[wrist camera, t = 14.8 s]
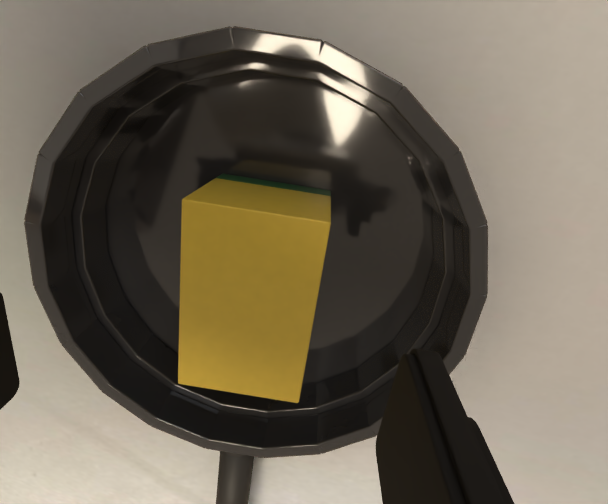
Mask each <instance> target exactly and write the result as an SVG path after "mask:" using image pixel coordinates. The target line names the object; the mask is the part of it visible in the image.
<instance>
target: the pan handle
mask: <svg viewBox="0 0 608 504" xmlns="http://www.w3.org/2000/svg"><path fill="white" fill-rule="evenodd" d="M253 461H254V456H248V455H242V454H236V453H230V452H224V451H220V462H219V474H218V486H217V498H216V504H248V499H249V491H250V484H251V476H252V469H253Z"/></svg>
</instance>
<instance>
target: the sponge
mask: <svg viewBox="0 0 608 504" xmlns="http://www.w3.org/2000/svg"><path fill="white" fill-rule="evenodd" d="M330 225H331V191H330V190H324V189H318V188H311V187H305V186H299V185H292V184H286V183H280V182H273V181H267V180H260V179H254V178H248V177H241V176H235V175H229V174H221V175H220V176H218V177H216V178H215V179H213V180H212V181H210V182H209V183H207V184H205V185H204V186H202V187H201V188H199V189H197V190H196V191H194V192H193V193H191V194H189V195H188V196H186V197H185V198H183V199H182V216H181V263H180V309H179V355H178V384H183V385H189V386H195V387H201V388H207V389H213V390H220V391H226V392H232V393H238V394H244V395H250V396H257V397H263V398H269V399H275V400H281V401H287V402H294V403H298V402H299V399H300V393H301V388H302V382H303V377H304V371H305V365H306V360H307V354H308V349H309V343H310V337H311V332H312V326H313V321H314V315H315V309H316V304H317V298H318V293H319V287H320V281H321V276H322V270H323V265H324V259H325V253H326V248H327V242H328V237H329V231H330Z"/></svg>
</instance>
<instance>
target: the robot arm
mask: <svg viewBox="0 0 608 504" xmlns="http://www.w3.org/2000/svg"><path fill="white" fill-rule="evenodd" d="M18 388H19V377H18V371H17V366H16V361H15V356H14V351H13V346H12V341H11V336H10V330H9V325H8V320H7V315H6V310H5V305H4V300H3V296H2V294H1V293H0V409H1V408H2V407H3V406H5V405H6V404H7V403H8V402H9V401H10V400H11V399H12V398H13V397H14V395H15V394H16V392H17V390H18ZM376 457H377V464H378V471H379V478H380V486H381V493H382V500H383V504H514V502H513V500H512V498H511V496H510V494H509V491H508V489H507V487H506V485H505V483H504V481H503V478H502V476H501V474H500V472H499V470H498V468H497V465H496V463H495V461H494V459H493V457H492V455H491V452H490V450H489V448H488V446H487V444H486V442H485V439H484V437H483V435H482V433H481V431H480V429H479V427H478V425H477V423H476V422H475V421H474V420H473V419H472V418H469V417H467V415H466V412H465V410H464V408H463V406H462V403H461V401H460V399H459V397H458V394H457V392H456V390H455V388H454V385H453V383H452V381H451V378H450V376H449V374H448V372H447V369H446V367H445V365H444V363H443V360H442V358H441V356H440V354H439V353H437V352H433V351H427V350H420V349H412V350H411V351H410V353H409V354H403V355H402V356H401V359H400V362H399V366H398V369H397V372H396V375H395V379H394V382H393V385H392V389H391V392H390V395H389V399H388V402H387V405H386V409H385V412H384V415H383V418H382V422H381V425H380V428H379V432H378V435H377V440H376Z"/></svg>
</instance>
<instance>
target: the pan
mask: <svg viewBox="0 0 608 504" xmlns="http://www.w3.org/2000/svg"><path fill="white" fill-rule="evenodd" d="M221 174H229V175H235V176H241V177H248V178H254V179H260V180H267V181H273V182H280V183H286V184H292V185H299V186H305V187H311V188H318V189H324V190H330V191H331V225H330V231H329V237H328V242H327V248H326V253H325V259H324V265H323V270H322V276H321V281H320V287H319V293H318V298H317V304H316V309H315V315H314V321H313V326H312V332H311V337H310V343H309V349H308V354H307V360H306V365H305V371H304V377H303V382H302V388H301V393H300V399H299V402H298V403H294V402H287V401H281V400H275V399H269V398H263V397H257V396H250V395H244V394H238V393H232V392H226V391H220V390H213V389H207V388H201V387H195V386H189V385H183V384H178V355H179V309H180V263H181V216H182V199H183V198H185V197H186V196H188V195H189V194H191V193H193V192H194V191H196V190H197V189H199V188H201V187H202V186H204V185H205V184H207V183H209V182H210V181H212V180H213V179H215V178H216V177H218V176H220V175H221ZM24 220H25V222H24V225H25V232H26V239H27V246H28V253H29V260H30V267H31V274H32V281H33V286H34V289H35V291H36V293H37V295H38V297H39V299H40V301H41V304H42V306H43V308H44V310H45V312H46V314H47V316H48V318H49V320H50V322H51V325H52V327H53V329H54V331H55V333H56V335H57V337H58V339H59V341H60V343H62V346H63V347H64V348H65V349H66V351H67V352H68V353H69V354H70V355H71V356H72V358H73V359H74V360H75V361H76V362H77V363H78V365H79V366H80V367H81V368H82V369H83V370H84V372H85V373H86V374H87V375H88V376H89V377H90V378H91V380H92V381H93V382H94V383H95V384H96V385H97V387H98V388H99V389H100V390H102V392H103V393H104V394H106V395H107V396H109V397H110V398H111V399H113V400H114V401H116V402H117V403H119V404H120V405H121V406H123V407H124V408H126V409H127V410H128V411H130V412H131V413H133V414H134V415H135V416H137V417H138V418H140V419H141V420H143V421H144V422H145V423H147V424H148V425H150V426H152V427H154V428H156V429H159V430H161V431H164V432H166V433H169V434H171V435H173V436H176V437H178V438H181V439H183V440H186V441H188V442H191V443H193V444H196V445H198V446H200V447H203V448H206V449H212V450H218V451H224V452H230V453H236V454H242V455H248V456H254V457H260V458H272V457H286V456H301V455H316V454H321V453H326V452H329V451H332V450H335V449H338V448H341V447H344V446H347V445H350V444H353V443H357V442H360V441H363V440H366V439H369V438H372V437H375V436H376V435H378V432H379V428H380V425H381V422H382V418H383V415H384V412H385V409H386V405H387V402H388V399H389V395H390V392H391V389H392V385H393V382H394V379H395V375H396V372H397V369H398V366H399V362H400V359H401V356H402V355H403V354H409V353H410V351H411V350H412V349H420V350H427V351H433V352H437V353H439V354H440V356H441V358H442V360H443V363H444V365H445V367H446V369H447V372H448V374H449V375H450V373H451V372H452V371H453V370H454V369H455V367H456V366H457V365H458V364H459V362H460V361H461V360H462V359H463V358H464V355H465V354H466V352H467V349H468V346H469V344H470V341H471V338H472V336H473V333H474V330H475V327H476V325H477V322H478V319H479V317H480V314H481V311H482V309H483V306H484V303H485V301H486V298H487V287H488V225H487V220H486V217H485V215H484V212H483V209H482V207H481V204H480V201H479V199H478V196H477V193H476V191H475V188H474V185H473V182H472V180H471V177H470V174H469V172H468V169H467V166H466V164H465V161H464V158H463V156H462V153H461V151H459V148H458V147H457V146H456V144H455V143H454V142H453V141H452V140H451V139H450V137H449V136H448V135H447V134H446V133H445V132H444V130H443V129H442V128H441V127H440V126H439V125H438V124H437V122H436V121H435V120H434V119H433V118H432V117H431V115H430V114H429V113H428V112H427V111H426V110H425V109H424V107H423V106H422V105H421V104H420V103H419V102H418V100H417V99H416V98H415V97H414V96H413V95H412V93H411V92H410V91H409V90H408V89H407V88H406V87H405V86H403V85H402V83H400V82H398V81H396V80H395V79H393V78H391V77H389V76H387V75H386V74H384V73H382V72H380V71H378V70H377V69H375V68H373V67H371V66H369V65H368V64H366V63H364V62H362V61H360V60H359V59H357V58H355V57H353V56H351V55H350V54H348V53H346V52H344V51H342V50H341V49H339V48H337V47H335V46H333V45H332V44H330V43H328V42H326V41H324V42H323V41H322V40H320V39H314V38H307V37H301V36H294V35H288V34H281V33H275V32H268V31H262V30H255V29H249V28H243V27H236V26H234V27H233V28H232V27H225V28H221V29H216V30H211V31H207V32H202V33H198V34H193V35H188V36H184V37H179V38H175V39H170V40H165V41H161V42H156V43H151V44H148V45H147V46H143V47H142V48H140V49H139V50H138V51H136V52H135V53H133V54H132V55H130V56H129V57H127V58H126V59H124V60H123V61H121V62H120V63H118V64H117V65H116V66H114V67H113V68H111V69H110V70H108V71H107V72H105V73H104V74H102V75H101V76H99V77H98V78H96V79H95V80H94V81H92V82H91V83H89V84H88V85H86V86H85V87H83V88H82V89H80V91H79V92H78V93H77V94H76V96H75V97H74V99H73V100H72V102H71V103H70V105H69V106H68V108H67V109H66V111H65V113H64V114H63V116H62V117H61V119H60V120H59V122H58V123H57V125H56V126H55V128H54V129H53V131H52V132H51V134H50V135H49V137H48V138H47V140H46V142H45V143H44V145H43V146H42V148H41V149H40V151H39V154H38V155H37V160H36V165H35V170H34V175H33V180H32V185H31V190H30V194H29V199H28V204H27V209H26V214H25V219H24Z"/></svg>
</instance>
